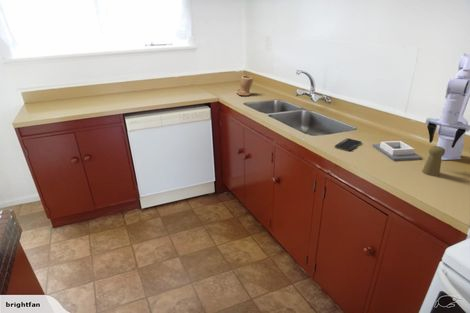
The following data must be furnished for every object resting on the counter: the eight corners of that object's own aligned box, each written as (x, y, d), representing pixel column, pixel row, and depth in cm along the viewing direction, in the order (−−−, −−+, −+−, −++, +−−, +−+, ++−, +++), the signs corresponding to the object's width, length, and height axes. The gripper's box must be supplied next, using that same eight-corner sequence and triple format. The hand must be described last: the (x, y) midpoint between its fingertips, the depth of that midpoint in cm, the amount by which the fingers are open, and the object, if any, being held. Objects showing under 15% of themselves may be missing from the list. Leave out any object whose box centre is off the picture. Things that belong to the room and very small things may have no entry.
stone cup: (254, 96, 246) (254, 77, 240) (239, 97, 244) (239, 77, 238) (249, 92, 260) (249, 74, 254) (235, 93, 257) (235, 74, 251)
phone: (333, 146, 148) (347, 137, 158) (333, 148, 148) (347, 140, 158) (349, 150, 143) (362, 141, 153) (349, 152, 143) (362, 143, 153)
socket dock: (397, 145, 151) (399, 138, 150) (421, 159, 136) (423, 151, 134) (372, 146, 150) (373, 139, 148) (393, 160, 134) (395, 153, 133)
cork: (419, 172, 124) (426, 147, 119) (424, 168, 128) (431, 143, 123) (437, 177, 120) (444, 151, 115) (441, 172, 124) (449, 147, 119)
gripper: (427, 109, 120) (418, 142, 125) (472, 116, 111) (461, 152, 116) (432, 106, 125) (423, 138, 130) (475, 113, 116) (464, 147, 121)
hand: (441, 144), depth 123 cm, fingers open, 7 cm apart
